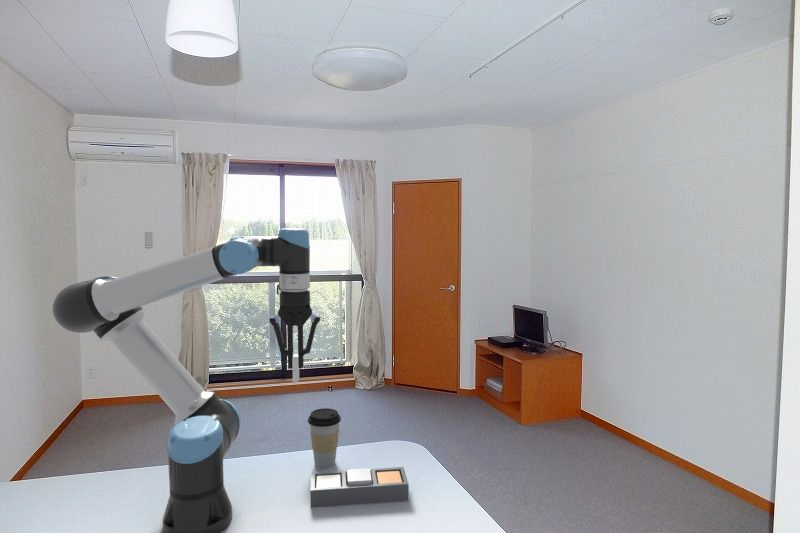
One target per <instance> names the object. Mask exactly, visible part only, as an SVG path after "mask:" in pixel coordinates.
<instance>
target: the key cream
mask: <svg viewBox="0 0 800 533" xmlns="http://www.w3.org/2000/svg"><path fill="white" fill-rule="evenodd" d="M338 486H341V483H340V475H324V476H317V485H316V488H323V487H338Z"/></svg>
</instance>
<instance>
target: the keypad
mask: <svg viewBox="0 0 800 533" xmlns="http://www.w3.org/2000/svg"><path fill="white" fill-rule="evenodd" d="M347 470H348V469H347ZM347 470H331V471H329V470H328V471H316V472H314V471H313V472H311V477H310V478H311V480H310V491H309V492H310V494H309V495H310V500H309V501H310V509H313V508H314V509H315V508H326V507H342V506H355V505H357V506H358V505H370V504H383V503H385V504H386V503H399V502H409V490H410V487H409V485H410V484H409V481H408V478H407V474H406V471H405V467H404V466H395V467H381V468H380V467H379V468H370V472H371V479H372V484H369V485H354V486H348V484H347ZM389 471H399V472H400V476H401V480H402V482H400V483H385V484H377V472H389ZM324 475H340V483H341V486H338V487H323V488H316V485H317V476H324Z"/></svg>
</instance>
